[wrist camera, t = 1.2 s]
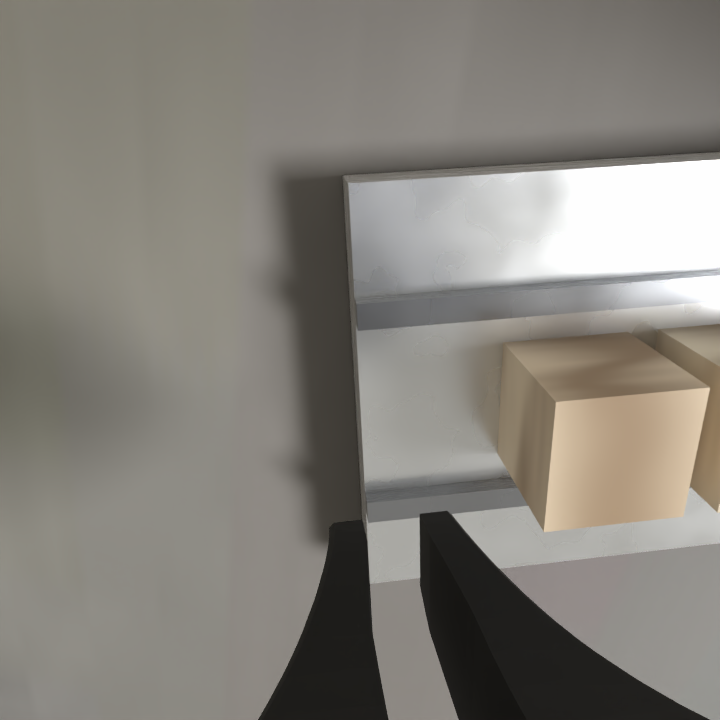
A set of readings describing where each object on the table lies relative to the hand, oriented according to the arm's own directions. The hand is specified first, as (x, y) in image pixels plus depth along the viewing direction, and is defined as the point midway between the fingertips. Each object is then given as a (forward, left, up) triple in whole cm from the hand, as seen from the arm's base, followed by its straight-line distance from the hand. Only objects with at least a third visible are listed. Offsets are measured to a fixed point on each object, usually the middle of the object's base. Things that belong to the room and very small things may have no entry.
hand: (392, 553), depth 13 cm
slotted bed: (-7, 0, -8) cm, 11 cm away
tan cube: (-6, 0, -6) cm, 9 cm away
